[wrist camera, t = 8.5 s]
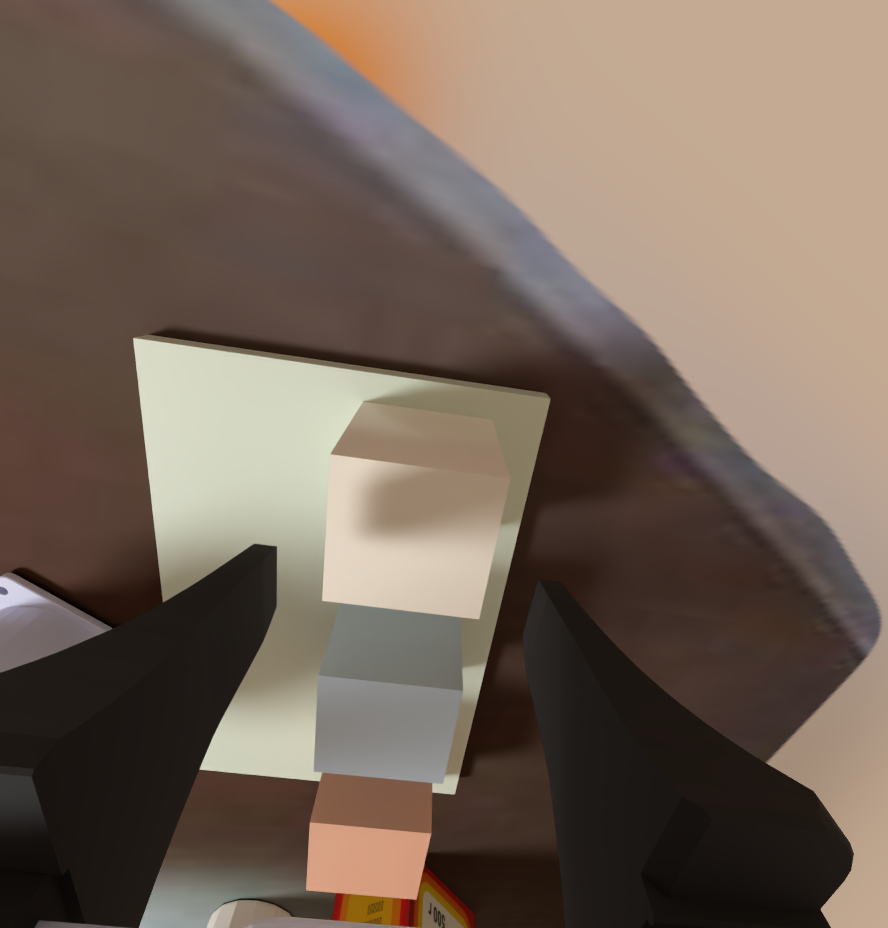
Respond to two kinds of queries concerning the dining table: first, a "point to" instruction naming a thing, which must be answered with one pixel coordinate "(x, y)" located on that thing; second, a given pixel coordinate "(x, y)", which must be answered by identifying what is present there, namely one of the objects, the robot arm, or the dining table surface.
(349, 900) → the baking soda box
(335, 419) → the sage board
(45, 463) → the dining table surface
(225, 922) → the white cup
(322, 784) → the salmon pink cube
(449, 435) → the tan cuboid
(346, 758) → the matte grey-blue cube
